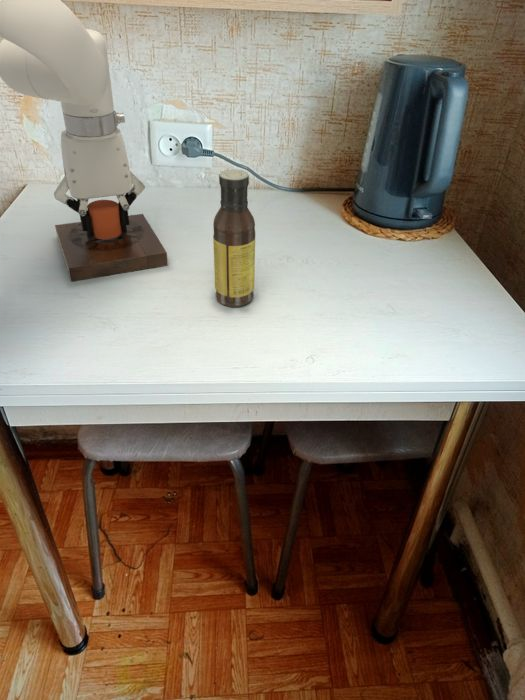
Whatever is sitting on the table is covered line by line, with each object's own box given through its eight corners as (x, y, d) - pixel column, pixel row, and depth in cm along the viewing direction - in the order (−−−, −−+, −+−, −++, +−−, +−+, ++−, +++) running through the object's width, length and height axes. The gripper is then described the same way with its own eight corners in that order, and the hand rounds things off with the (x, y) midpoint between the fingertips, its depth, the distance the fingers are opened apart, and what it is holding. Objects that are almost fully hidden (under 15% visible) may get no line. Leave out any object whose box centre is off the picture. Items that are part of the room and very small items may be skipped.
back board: (71, 281, 82) (68, 268, 80) (57, 236, 93) (54, 223, 92) (167, 265, 88) (166, 252, 86) (143, 224, 99) (142, 212, 97)
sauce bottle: (259, 292, 83) (266, 170, 70) (245, 312, 78) (251, 186, 66) (222, 283, 84) (223, 162, 72) (207, 302, 80) (205, 177, 67)
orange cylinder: (94, 241, 87) (90, 214, 84) (89, 228, 91) (84, 201, 88) (125, 237, 89) (121, 210, 86) (118, 224, 93) (114, 198, 90)
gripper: (139, 113, 84) (148, 216, 96) (28, 120, 78) (53, 229, 90) (151, 126, 79) (159, 233, 90) (34, 135, 73) (59, 248, 84)
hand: (106, 230), depth 90 cm, fingers closed on orange cylinder, 5 cm apart
